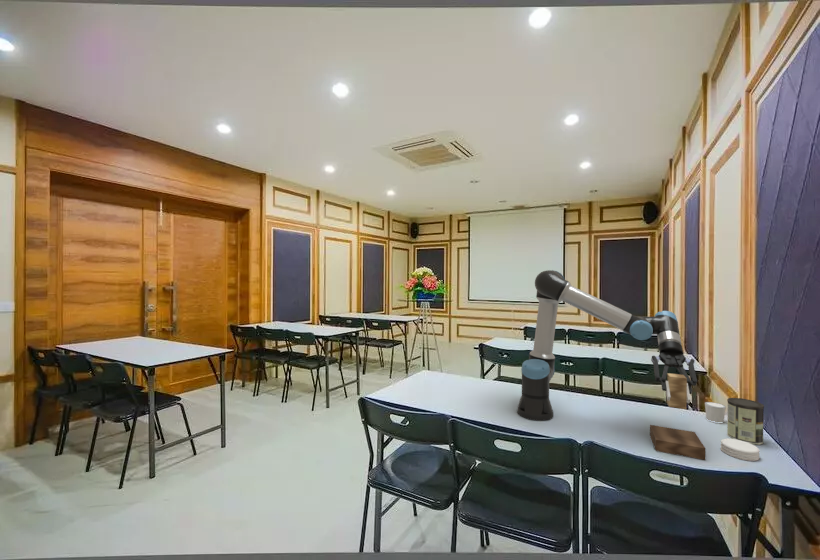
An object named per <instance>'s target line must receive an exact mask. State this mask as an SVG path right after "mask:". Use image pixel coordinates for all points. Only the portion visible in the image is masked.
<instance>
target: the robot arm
mask: <svg viewBox="0 0 820 560" xmlns="http://www.w3.org/2000/svg"><path fill="white" fill-rule="evenodd" d="M534 287H535V289H536V296H535V298H536V299H537V300H538V307H537V308H538V309H537V316H536V325H535V334H534V341H533V342H534V343H533V349H532V350H531V351H530V352H529V355H528V359H526V360H523V362H522V365H521V368H520V369H521V396H520V399H519V402H518V404H517V410H516V411H517V414H518V416H521V417H522V418H525V419H528V420H531V421H540V422H541V421H548V420H549V421H550V420H551V419H553V418H554V410H553V407H552V404H551V400H550V382H551V380H552V378H553V377H554V375H555V372H556V368H555V361H556V356H555V355H554V354H553V350H554V344H555V343H554V341H555V332H556V325H557V316H558V309H559V304H560V303H561V302H564V303H566V304H568V305H570V306H572V307H574V308H576V309H578V310H580V311H582V312H583V313H586V314H589V316H592V317H594V318H596V319H599V320H601V321H602V322H604V323H605V324H608V325H610V326H612V327H615V328H616V329H618V330H620V331H622V332H623V333H624V334H628V335H631V336H632V338H634V339H636V340H639V341H647V340H648V339H650V338H652V336H653V335H656V336H657V342H658V343H657V344H658V352H659V355H657V356H655V355H652V356H651V359H650V360H651V363H652V364H653V373H654V375H653V376H654V381H655V382H658V383H660V384H661V389H662V391H664V392H665V396H666V401H667V400H668V401H670V397H671V396H670V389H669V383H668V381H667V373H668V370H669V368H676V369H677V371H678V372H679V374H680V375H684V376H685V377H686V378H687V398H686V404H690V402H691V400H692V399H691V395H692V394H693V387H692V386H697V383H698V379H697V374H696V373H697V372H696V369H695V366H694V365H695V359H694V358H691V359H689V358H686V356H685V355H684V350H683V346H682V345H683V344H682V339H681V335H680V328H679V322H678V319H677V316H676V314H675V313H674V312H672V311H669V310H662V311H658V312H656V313H655V315H654V316H643V315H642V316H639V315H637V316H636V315H634V314H632V313H630V312H628V311H626V310H624V309H622V308H620V307H618V306H615V305H613V304H611V303H609V302H607V301H605V300H602V299H600V298H598V297H597V296H594V295H592V294H590V293H587V292H586V291H584V290H583V289H579V288H577V287H575V286H574V285H572V284H571V281H568V280H566V278H565V276H564V275H563V274H562V273H561V272H559V271H557V270H553V269H552V270H550V269H549V270H548V269H547V270H544V271H541V272H539V273H537V275H536V277H535V279H534ZM659 361H661V362H662V363H663V365H664V367H663V371H662V375H661V376H660V368H659ZM685 363H686V365H687V366H688V373H689V375H688V373H687V371H686V369H685V368H684V364H685Z"/></svg>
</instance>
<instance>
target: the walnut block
mask: <svg viewBox="0 0 820 560" xmlns="http://www.w3.org/2000/svg"><path fill="white" fill-rule="evenodd" d="M649 436H651V437H650V440H651V442H652V444H653V447H654V450H655V452H660V453H666V454H672V455H676V456H677V455H678V456H681V455H683V456H682V457H686V458H687V457H688V458H691V459H692V458H693V459H699V460H702V461H703V460H705V461H706V450H707V449H706V446H705V445H704V444H703V442H702V441H701V439H700V437H699V436H698V434H697V433H696V431H692V430H691V431H690V430H685V429H680V428H679V429H678V428H674V427H673V428H672V427H667V426H661V425H660V426H658V425H655V424H654V425H653V424H650V425H649Z"/></svg>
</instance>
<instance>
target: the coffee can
mask: <svg viewBox="0 0 820 560" xmlns="http://www.w3.org/2000/svg"><path fill="white" fill-rule="evenodd" d="M764 409H765V405H764V404H763V403H761V402H758V401H756V400H752V399H747V398H741V397H729V398H728V397H727V421H726V422H727V426H726V427H727V432H726V435H727V436H728V438H729V439H736V440H741V441H744V442H747V443H750V444H752V445H754V446H758V445H759V446H760V445H763V444H764Z"/></svg>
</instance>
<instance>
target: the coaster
mask: <svg viewBox="0 0 820 560" xmlns="http://www.w3.org/2000/svg"><path fill="white" fill-rule="evenodd" d="M720 449H721V451H722V453H724V454H726V455H727V456H729V457H733V458H735V459H738V460H743V461H747V462H748V461H749V462H757V461H758V460H760V452H761V451H760V448H759V447H757V445H754V444H750V443H747V442H744V441H741V440H736V439H732V438H723V439H721V441H720Z"/></svg>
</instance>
